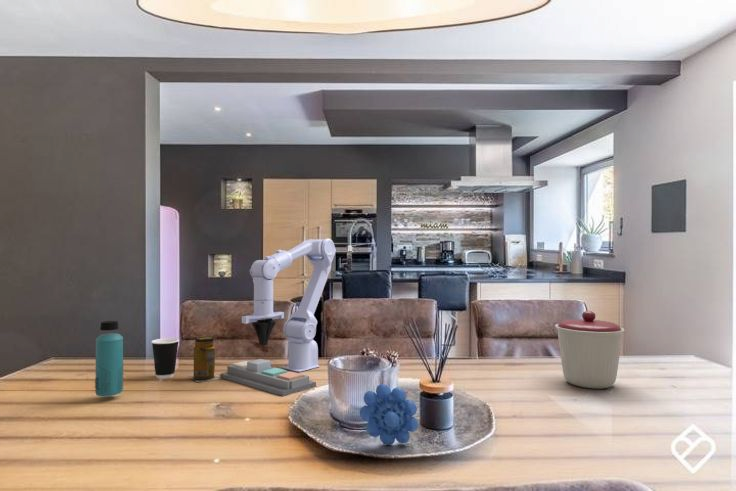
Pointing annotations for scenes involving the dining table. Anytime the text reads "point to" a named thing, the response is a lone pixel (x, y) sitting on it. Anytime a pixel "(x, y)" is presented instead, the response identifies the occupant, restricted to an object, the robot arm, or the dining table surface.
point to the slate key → (258, 365)
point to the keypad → (267, 381)
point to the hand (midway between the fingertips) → (263, 344)
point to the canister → (589, 351)
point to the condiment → (204, 360)
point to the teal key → (274, 372)
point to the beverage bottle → (109, 361)
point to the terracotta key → (290, 376)
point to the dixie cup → (165, 356)
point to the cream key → (241, 364)
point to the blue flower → (389, 414)
